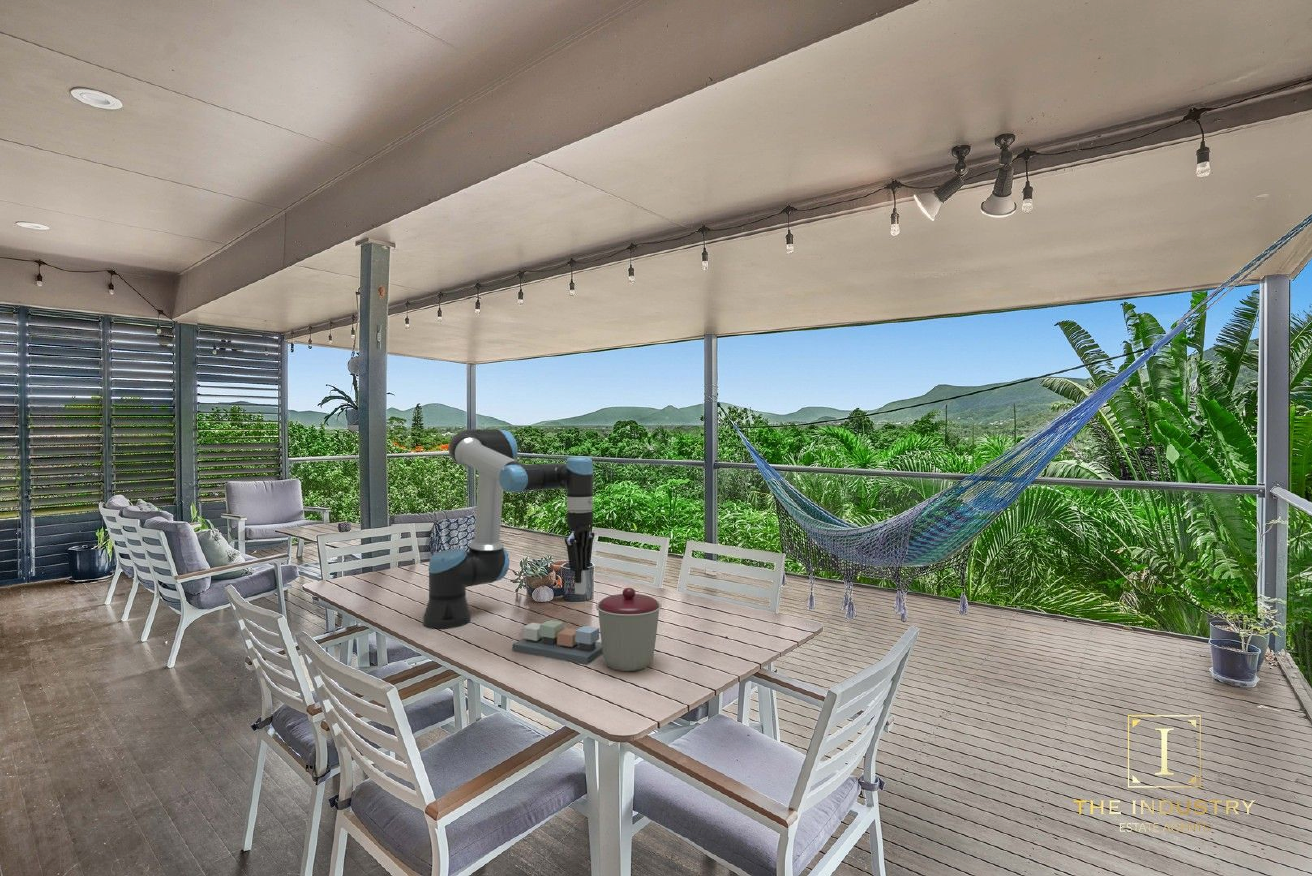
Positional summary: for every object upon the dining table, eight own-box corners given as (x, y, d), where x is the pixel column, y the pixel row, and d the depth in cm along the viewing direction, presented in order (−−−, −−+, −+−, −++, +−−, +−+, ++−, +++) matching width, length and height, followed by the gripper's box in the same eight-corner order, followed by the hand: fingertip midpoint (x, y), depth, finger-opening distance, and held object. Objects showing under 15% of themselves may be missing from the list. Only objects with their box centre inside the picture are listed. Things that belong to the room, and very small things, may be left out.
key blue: (575, 641, 169) (575, 630, 169) (584, 636, 174) (584, 625, 174) (590, 644, 167) (590, 633, 167) (599, 639, 172) (599, 627, 172)
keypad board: (512, 651, 173) (512, 636, 173) (536, 638, 184) (536, 624, 184) (587, 664, 164) (587, 649, 163) (607, 650, 175) (608, 636, 175)
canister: (626, 647, 177) (626, 576, 177) (674, 663, 165) (675, 587, 165) (581, 665, 163) (582, 588, 163) (630, 683, 151) (631, 601, 151)
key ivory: (522, 638, 176) (522, 627, 176) (532, 633, 181) (532, 622, 181) (536, 640, 174) (536, 629, 174) (546, 635, 179) (546, 624, 179)
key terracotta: (557, 644, 171) (557, 633, 171) (566, 638, 176) (566, 628, 176) (572, 646, 169) (572, 635, 169) (581, 641, 174) (581, 630, 174)
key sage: (539, 635, 174) (539, 625, 174) (549, 630, 178) (549, 620, 178) (554, 638, 172) (554, 627, 172) (563, 633, 176) (563, 622, 176)
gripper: (579, 514, 163) (579, 600, 163) (602, 509, 175) (602, 589, 175) (556, 513, 166) (556, 597, 166) (580, 508, 178) (580, 587, 178)
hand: (580, 593), depth 171 cm, fingers closed
